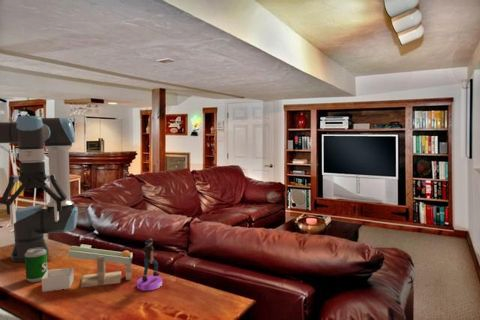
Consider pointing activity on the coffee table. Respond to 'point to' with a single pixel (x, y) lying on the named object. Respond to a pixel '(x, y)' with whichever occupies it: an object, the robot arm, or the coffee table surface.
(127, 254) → the ball
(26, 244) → the robot arm
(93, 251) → the lever
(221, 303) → the coffee table surface
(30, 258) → the soda can
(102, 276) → the stand
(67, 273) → the dish
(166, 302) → the coffee table surface
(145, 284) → the figurine
